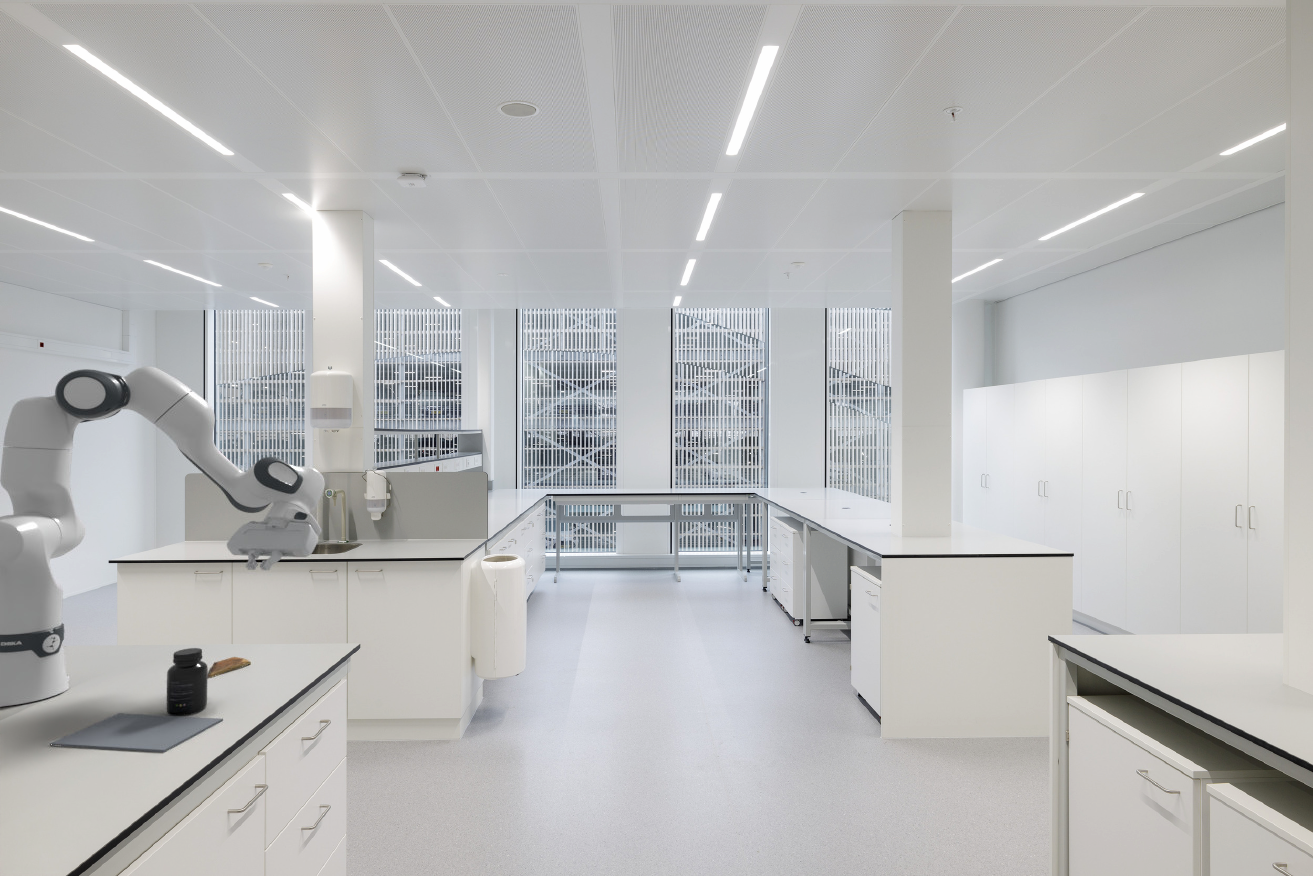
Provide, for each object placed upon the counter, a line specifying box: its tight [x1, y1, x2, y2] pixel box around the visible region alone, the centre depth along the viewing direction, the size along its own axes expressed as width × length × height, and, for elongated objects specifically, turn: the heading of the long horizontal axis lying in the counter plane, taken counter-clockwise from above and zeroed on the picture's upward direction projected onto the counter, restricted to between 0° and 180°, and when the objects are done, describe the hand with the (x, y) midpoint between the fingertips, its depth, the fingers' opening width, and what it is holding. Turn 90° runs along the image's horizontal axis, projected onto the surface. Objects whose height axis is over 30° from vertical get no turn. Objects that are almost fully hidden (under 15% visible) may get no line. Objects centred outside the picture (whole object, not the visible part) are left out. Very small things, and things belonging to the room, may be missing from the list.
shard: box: [208, 656, 252, 678], centre depth 162 cm, size 11×8×2 cm
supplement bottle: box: [165, 647, 209, 717], centre depth 136 cm, size 7×7×12 cm
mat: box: [49, 712, 224, 753], centre depth 125 cm, size 22×14×1 cm, turn 85°
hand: (256, 568), depth 157 cm, fingers open, 2 cm apart
